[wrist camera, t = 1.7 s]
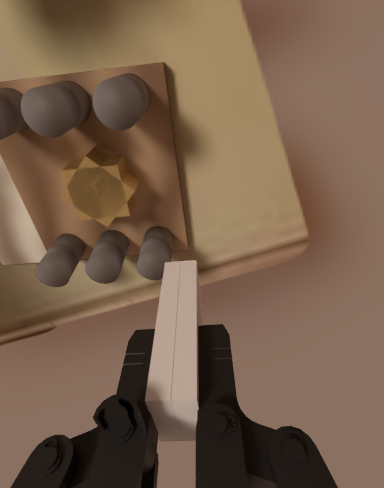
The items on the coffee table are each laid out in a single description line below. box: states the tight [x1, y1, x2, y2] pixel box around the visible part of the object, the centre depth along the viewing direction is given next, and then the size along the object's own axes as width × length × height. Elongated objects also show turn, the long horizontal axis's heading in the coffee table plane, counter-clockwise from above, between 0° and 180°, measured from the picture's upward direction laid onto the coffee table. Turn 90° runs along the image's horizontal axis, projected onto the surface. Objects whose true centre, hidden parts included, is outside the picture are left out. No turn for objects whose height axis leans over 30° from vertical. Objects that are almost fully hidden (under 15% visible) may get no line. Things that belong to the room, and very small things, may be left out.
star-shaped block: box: [60, 146, 141, 227], centre depth 26 cm, size 7×7×3 cm
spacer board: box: [0, 62, 188, 287], centre depth 26 cm, size 22×18×6 cm
